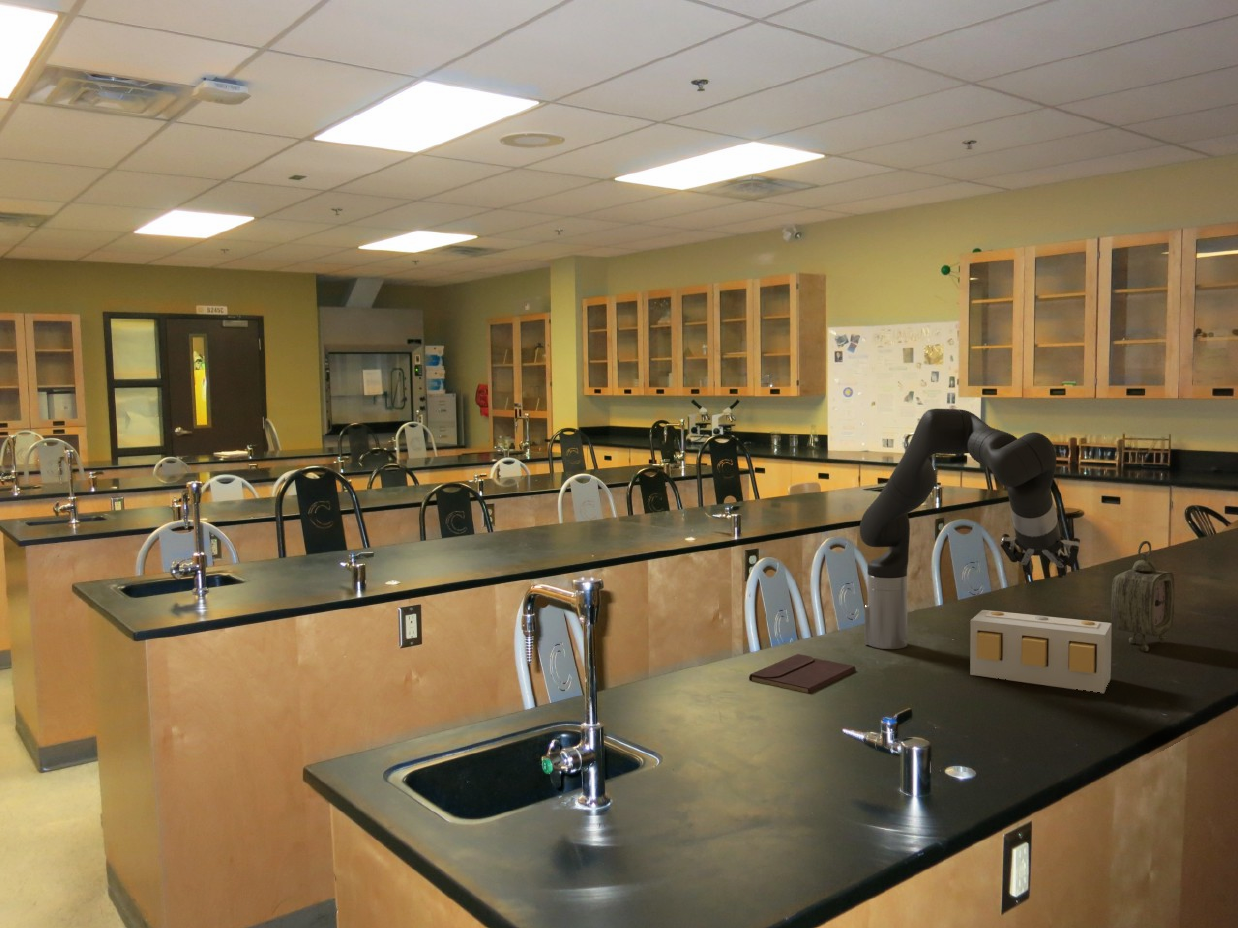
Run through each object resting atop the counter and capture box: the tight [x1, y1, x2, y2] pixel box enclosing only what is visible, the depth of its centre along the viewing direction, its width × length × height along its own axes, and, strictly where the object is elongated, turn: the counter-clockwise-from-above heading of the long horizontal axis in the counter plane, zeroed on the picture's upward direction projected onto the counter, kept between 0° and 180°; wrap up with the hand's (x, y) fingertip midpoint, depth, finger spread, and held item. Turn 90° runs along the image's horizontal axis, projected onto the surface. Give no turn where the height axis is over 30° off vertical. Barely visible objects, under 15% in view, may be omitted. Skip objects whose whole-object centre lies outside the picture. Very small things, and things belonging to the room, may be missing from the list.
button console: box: [969, 609, 1113, 694], centre depth 204 cm, size 26×11×12 cm, turn 57°
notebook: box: [748, 653, 857, 694], centre depth 209 cm, size 15×20×2 cm
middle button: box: [1022, 636, 1047, 667], centre depth 199 cm, size 4×3×5 cm
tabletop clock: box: [1110, 540, 1175, 653], centre depth 226 cm, size 14×9×25 cm, turn 131°
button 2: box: [1069, 642, 1095, 673], centre depth 194 cm, size 4×3×5 cm
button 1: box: [977, 631, 1002, 661], centre depth 204 cm, size 4×3×5 cm
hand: (1045, 572), depth 185 cm, fingers open, 5 cm apart
